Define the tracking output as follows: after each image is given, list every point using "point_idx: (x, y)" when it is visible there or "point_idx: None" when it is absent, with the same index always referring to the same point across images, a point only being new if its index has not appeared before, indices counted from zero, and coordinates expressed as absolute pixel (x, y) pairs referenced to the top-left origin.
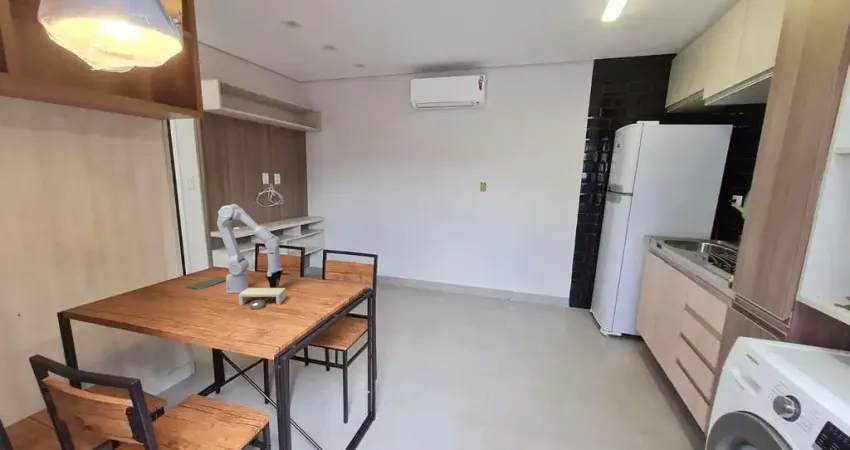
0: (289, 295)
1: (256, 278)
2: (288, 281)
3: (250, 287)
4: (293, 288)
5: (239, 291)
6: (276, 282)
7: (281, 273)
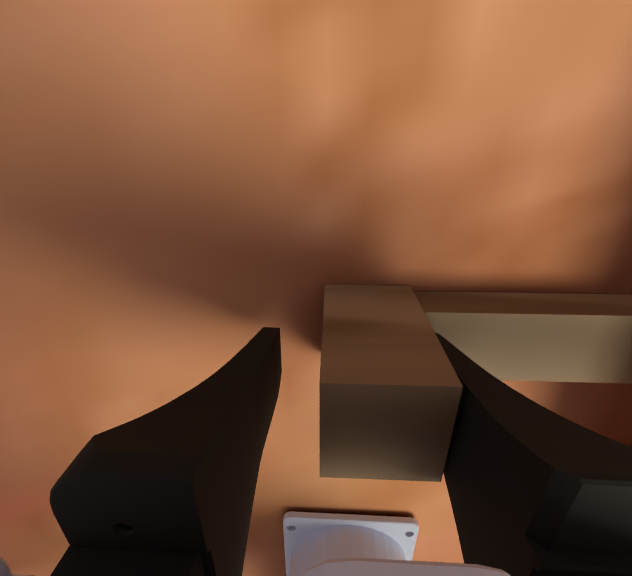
0: (624, 53)
1: (45, 533)
2: (14, 264)
3: (299, 521)
4: (285, 96)
5: (403, 555)
6: (448, 361)
7: (177, 419)
